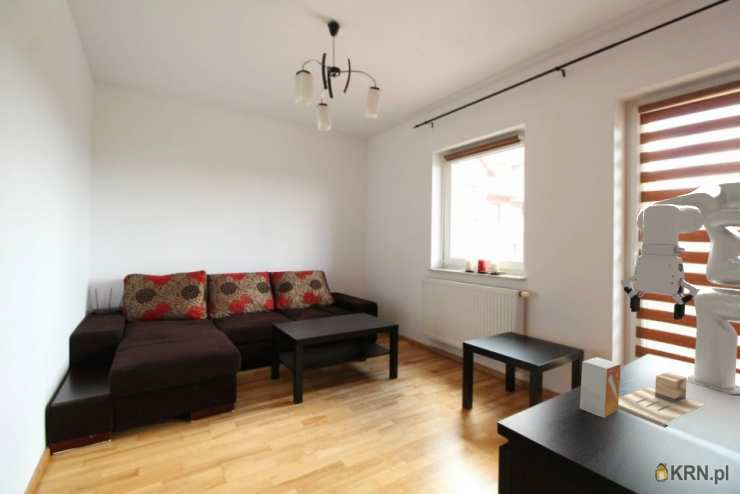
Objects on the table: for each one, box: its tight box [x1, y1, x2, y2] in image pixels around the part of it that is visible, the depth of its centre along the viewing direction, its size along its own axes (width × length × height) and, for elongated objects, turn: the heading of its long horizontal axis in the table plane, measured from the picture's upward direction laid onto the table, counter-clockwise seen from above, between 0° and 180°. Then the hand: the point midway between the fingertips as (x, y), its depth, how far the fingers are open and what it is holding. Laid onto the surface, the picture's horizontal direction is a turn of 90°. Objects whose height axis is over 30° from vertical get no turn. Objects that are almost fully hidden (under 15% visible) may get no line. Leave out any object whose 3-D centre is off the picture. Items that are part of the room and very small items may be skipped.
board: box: [618, 386, 705, 428], centre depth 99 cm, size 23×13×1 cm, turn 119°
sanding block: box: [654, 371, 688, 403], centre depth 103 cm, size 7×4×6 cm, turn 119°
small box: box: [579, 356, 622, 419], centre depth 96 cm, size 8×6×13 cm
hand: (655, 315), depth 95 cm, fingers open, 9 cm apart
